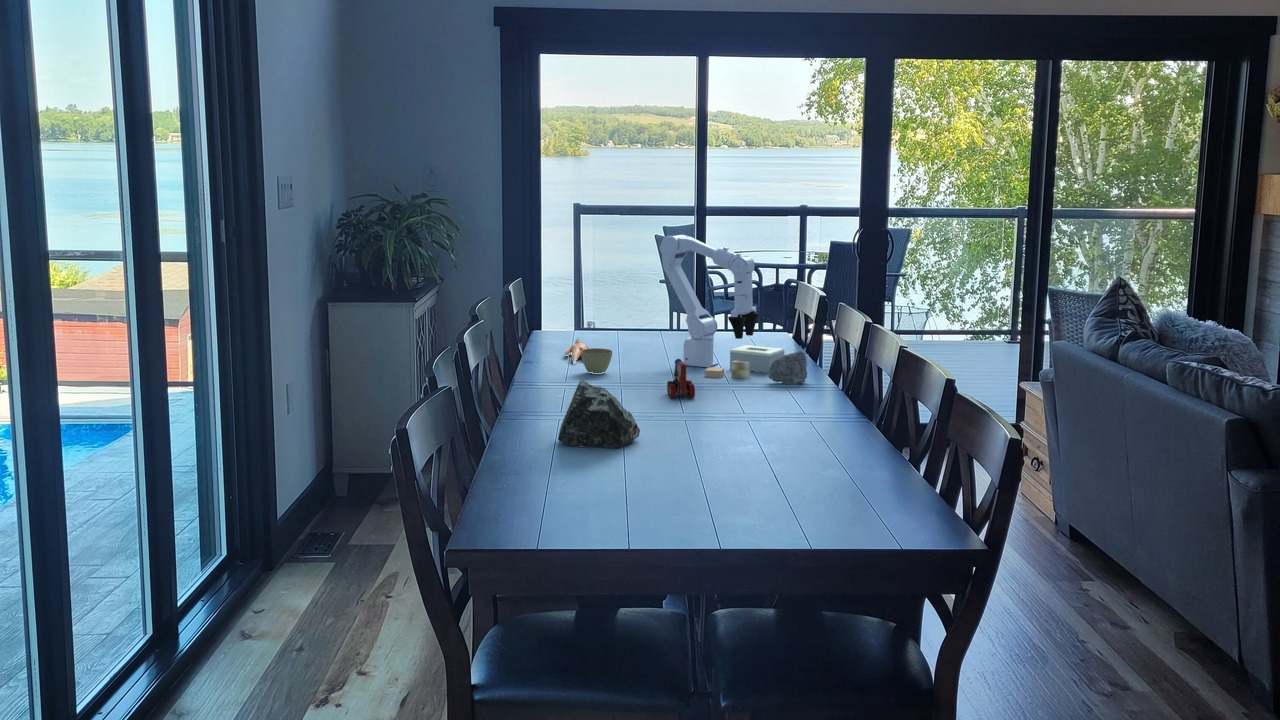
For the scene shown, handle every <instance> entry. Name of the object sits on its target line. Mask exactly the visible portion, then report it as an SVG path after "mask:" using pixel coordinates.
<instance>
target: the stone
mask: <svg viewBox="0 0 1280 720" xmlns="http://www.w3.org/2000/svg"><path fill="white" fill-rule="evenodd" d="M640 432H641V430H640V427H639V426H638V423H637V422H636V419H635V418H634V416H633V414H632V413H631V411H629V410H627V409H626V408H625V407H624V406H623V405H622V404H621V402H620V401H619V400H618V398H617V397H616V396H613V395H612V393H611V392H609V390H607V389H606V388H605V387H602V386H599V385H598V386H597V385H596V386H595V385H592V384H589V383H588V382H587V381H586V380H584V379H580V380H579V382H578V384H577V385H576V389H575V391H574V394H573V396H572V398H571V401H570V403H569V405H568V408H567V410H566V412H565V415H564V418H563V419H562V423H561V425H560V429H559V432H558V436H557V440H558V441H559V442H560V443H562V444H565V445H569V446H573V447H577V446H594V447H596V446H601V447H600V448H602V447H603V448H604V447H609V448H608V449H611V448H614V449H616V448H618V449H621V448H623V446H629V444H630V445H631V444H633V441H634V440H636V439H637V438H639V436H640Z"/></svg>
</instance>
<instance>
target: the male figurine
mask: <svg viewBox="0 0 1280 720" xmlns="http://www.w3.org/2000/svg"><path fill="white" fill-rule="evenodd" d="M590 348H591V347H588V346H587V344H585V343H582V341H581V340H580V339H579V338H577V339H576V340H575V342H574V344H572V346H570V347H567V349H566V350H565V353H564V356H565V355H569V353H570V352H572V355H571V360H572V362H573V361H576V360H577V361H578V360H579V359H578V357H580V356H581V350H583V349H590ZM580 358H581V357H580ZM577 361H576V362H577Z"/></svg>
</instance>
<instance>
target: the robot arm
mask: <svg viewBox="0 0 1280 720" xmlns="http://www.w3.org/2000/svg"><path fill="white" fill-rule="evenodd" d="M659 251H660V252H661V253H660V254H661V259H662V268H663V270H664V272H665V274H666V277H668V280H669V282H670V284H671V286H672V288H673V290H674V291H675V294H676V296H677V297H678V299H679V301H680V303H681V305H682V308H683V309H684V311H685V313H686V319H685V322H686V324H687V330H688V334H689V336H688V337H687V338H685V340H684V343H683V359H682V360H683V361H682V362H683V363H684V364H685V365H686V366H690V367H691V366H692V367H701V368H708V367H713V366H716V365H719V363H718V361H714V339H715V338H714V337H715V336H714V335H715V333H716V332H717V330H718V322H717V320H716V319H715V318H714V317H713V316H712V315H711V314H710V312H709V311H708V310H707V309H706V308H704V307H703V306H702V304H701V303H700V300H699V299H698V296H697V295H696V293H695V291H694V289H693V287H692V285H691V283H690V282H689V281H690V280H689V279H688V277H687V275H686V273H685V272H684V269H683V268H682V262H683V260H684V258H686V256H687V254H688V253H689V252H694V253H696V254H699V255H702V256H705V257H708V259H712V262H713V264H714V265H716V266H719V267H721V268H724V269H725V270H728V271H731V273H732V274H733V283H734V289H733V290H734V296H733V297H734V308H733V309H732V310H730V316H728V317H727V320H728V321H729V323H730V325H731V327H732V330H733V334H734V337H735V338H734V339H737V340H740V339H741V340H743V337H744V333H745V336H752V337H753V335H754V331H755V326H756V323H757V321H758V319H759V317H760V312H757V306H756V305H754V304H753V301H754V300H753V272H754V271H755V267H756V263H755V260H754V259H753V258H752V257H750V256H749V255H744V256H742V254H741V253H740V252H737V253H736V252H734V251H731V250H729V247H726V246H724V247H718V248H717V249H716V248H715V247H712V246H710V245H709V244H706V243H704V242H702V241H700V240H698V239H696V238H694V237H692V236H688V235H686V234H678V235H677V234H676V235H666V236H665V237H664V238H663V239H662V241H661V242H660V246H659ZM744 330H745V331H744Z"/></svg>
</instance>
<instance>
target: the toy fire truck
mask: <svg viewBox="0 0 1280 720" xmlns="http://www.w3.org/2000/svg"><path fill="white" fill-rule="evenodd" d="M674 364H675V365H674V373H673V377H674V379H672V380H668V381H667V383H666V388H667V389H666V390H667V392H666V393H667V395H668V396H669V399H672V400H673V399H674V400H675V399H676V397H677V394H679V396H685V395H687V396H688V399H694V398H695V395H696V387H695V384H694V383H693V382H692V380H691V379H690V380H689V379H687V365H685V364H684V363H683V361H682V359H680V358H676V359H675V360H674Z"/></svg>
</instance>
